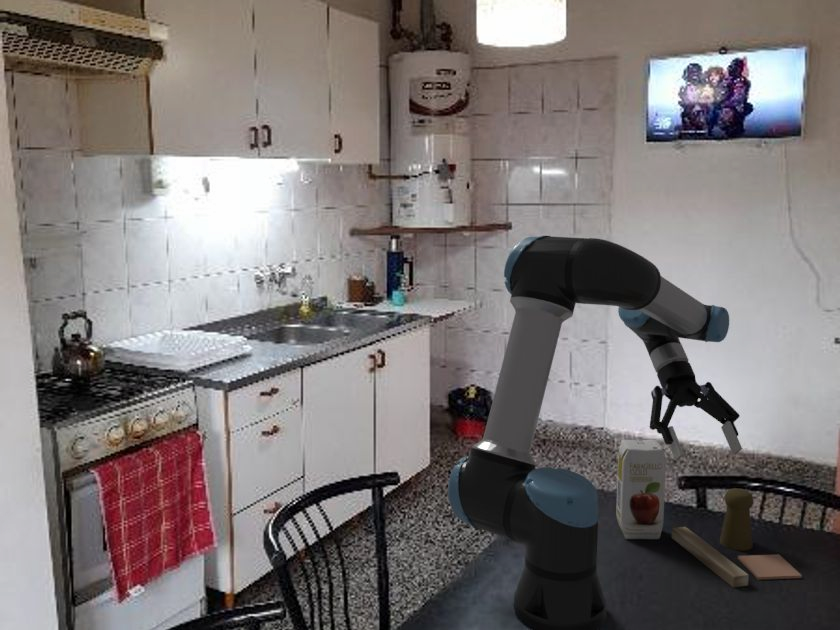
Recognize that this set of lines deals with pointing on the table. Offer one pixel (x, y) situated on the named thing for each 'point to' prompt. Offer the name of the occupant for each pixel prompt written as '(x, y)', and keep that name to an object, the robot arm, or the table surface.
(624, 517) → the juice carton
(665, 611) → the table surface
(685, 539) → the straightedge
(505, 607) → the table surface
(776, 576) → the end plate
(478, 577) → the table surface
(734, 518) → the olive domed peg
